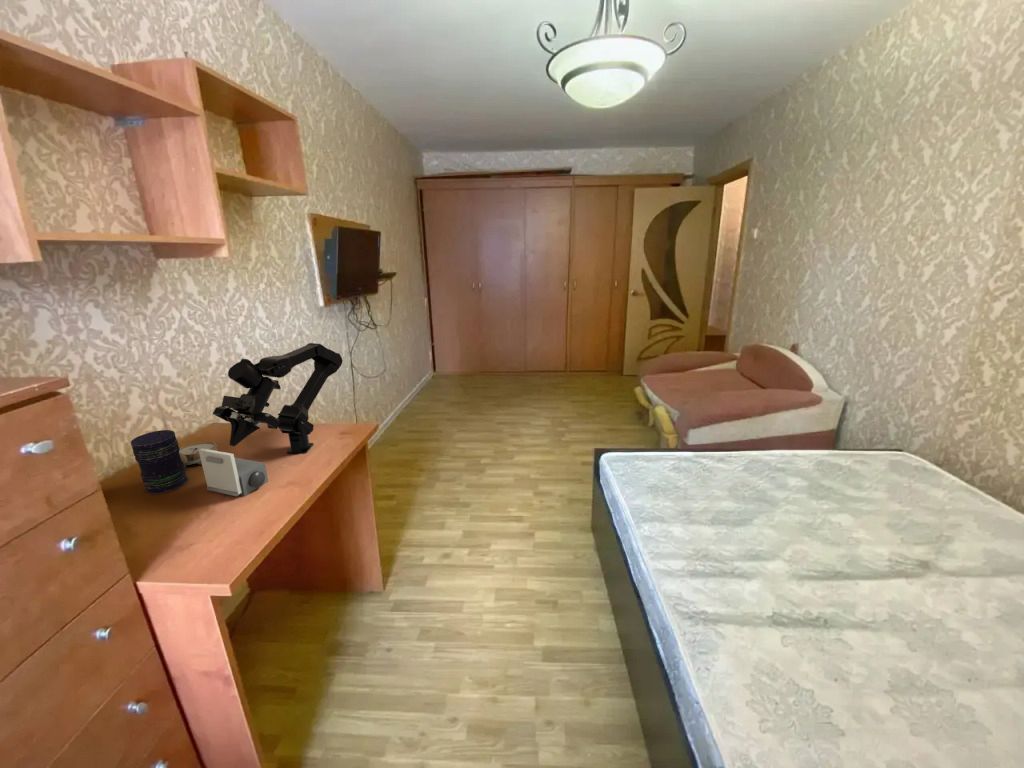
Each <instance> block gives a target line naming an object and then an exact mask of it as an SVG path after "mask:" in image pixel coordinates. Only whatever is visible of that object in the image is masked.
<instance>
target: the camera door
mask: <svg viewBox="0 0 1024 768" xmlns="http://www.w3.org/2000/svg"><path fill="white" fill-rule="evenodd" d="M199 454H200V458H201V462H202V465H201V466H202V469H203V474H204V478H205V482H206V486H207V488H206V489H207V491H209V492H214V493H219V494H224V495H228V496H233V497H239V496H240V495H239V494H240V493H242V490H241V486H240V481H239V477H238V472H237V468H236V463H235V458H236V457H235V455H234V453H230V452H226V451H225V452H224V451H219V450H218V451H214V450H209V449H203V448H201V449H199Z"/></svg>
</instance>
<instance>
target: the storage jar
mask: <svg viewBox="0 0 1024 768" xmlns="http://www.w3.org/2000/svg"><path fill="white" fill-rule="evenodd" d="M130 445H131V448H132V453H133V456H134V459H135V461H136V463H138V467H139V469H140V476H141V481H142V483H143V485H144V487H145V491H147V492H148V494H150V493H151V494H150V495H159V494H164V493H168V492H172V491H175V490H177V489H180V488H182V487H183V486H184V485H186V484H187V482H188V481H189V477H188V476H187V468H186V466H185V467H184V463H183V461H182V460H181V457H180V453H179V451H180V449H179V448H180V446H179V441H178V439H177V437H176V433H175V431H174V430H170V429H164V430H155V431H150V432H147V433H143V434H141V435H138V436H136V437H135V438H133V439H132V440H131V441H130ZM147 492H146V493H147Z"/></svg>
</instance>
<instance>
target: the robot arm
mask: <svg viewBox="0 0 1024 768" xmlns="http://www.w3.org/2000/svg"><path fill="white" fill-rule="evenodd" d="M309 360H313V361H314V362H313V366H314V368H313V371H312V374H311V375H310V377H309V378H308V380H307V381H306V382H305V385H304V387H303V388H302V389H301V391H300V393H299V395H297V397H296V399H295V401H294V402H293V403H292V404H291V405H289V404H284V405H283V406H282V407H281V410H280V412H279V413H278V414H277V417H275V416H274V415H273V414H270V413H269V412H263V411H264V409H265V408H266V407H267V408H269V407H270V403H269V402H268V401H269V399H270V397H271V395H272V393H273V391H274V390H281V389H282V388H281V385H280V383H279V380H277V379H272V378H279V379H281V378H284V377H285V376H287V375H288V374H290V373H291V371H292V370H293V368H294V367H297V366H298V365H300V364H302V363H304V362H307V361H309ZM342 364H343V358H342V355H341V354H340V353H338V352H336V351H334V350H331V349H330V348H327V347H325V346H324V345H323V344H321V343H316V342H313V343H312V342H309V343H306V345H304V346H301V347H299V348H297V349H294V350H292V351H289V352H287V353H285V354H281V355H272V356H265V357H262V358H261V359H260V360H259V361H258V362H257V363H252V361H251V360H249V359H248V358H241V359H240V361H238V362H236V363H235V364H234V365H232V366H231V367H230V368H229V369H228V370H227V376H228V378H229V379H230V380H232V381H233V382H235V383H236V384H238V385H240V386H241V387H243V388H244V389H248V391H247V393H242V394H241V395H240V397H237V396H230V395H223V397H222V402H221V406H217V407H215V408H214V410H213V412H212V415H214V416H215V417H218V418H219V419H221V420H223V421H225V422H228V423H230V425H231V426H230V427H231V432H230V439H229V445H230V446H232V447H235V446H237V445H238V444H240V443H241V442H242V441H243V440H245V439H246V438H247V437H249V436H250V435H252V434H253V433H254V432H256V431H257V430H261V426H260V425H261V424H266V425H267V428H268V429H271V430H277V429H279V430H280V432H281V433H282V434H288V438H289V446H290V448H288V449H287V451H286V453H287V454H305V453H308V452H309V450H310V449H311V448H312V447H313V446H314V442H310V441H309V439H310V438H309V435H311V434H312V432H313V431H314V427H315V426H314V424H313V423H312V422H310V421H309V409H310V408H311V406H312V405H313V403H314V401H315V399H316V398H317V396H318V395H319V393H320V391H321V389H322V387H324V385H325V383H326V381H327V380H328V378H329V377H330V376H332V375H334V374H336V373H337V372H338V371H339V369H340V368H341V367H342ZM270 377H271V378H270Z"/></svg>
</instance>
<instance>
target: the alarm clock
mask: <svg viewBox="0 0 1024 768" xmlns="http://www.w3.org/2000/svg"><path fill="white" fill-rule="evenodd" d="M217 444H218V443H216V442H215V441H200V442H193V443H190V444H187V445H183V446H181V447H179V449H180V451H179V453H180V457H181V460H182V461H183V463H184V467H185V468H186V466H190V465H195V464H196V465H201V466H202V462H201V458H200V454H199V449H201V448H203V449H209V450H214V451H219V450H218V446H217Z"/></svg>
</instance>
